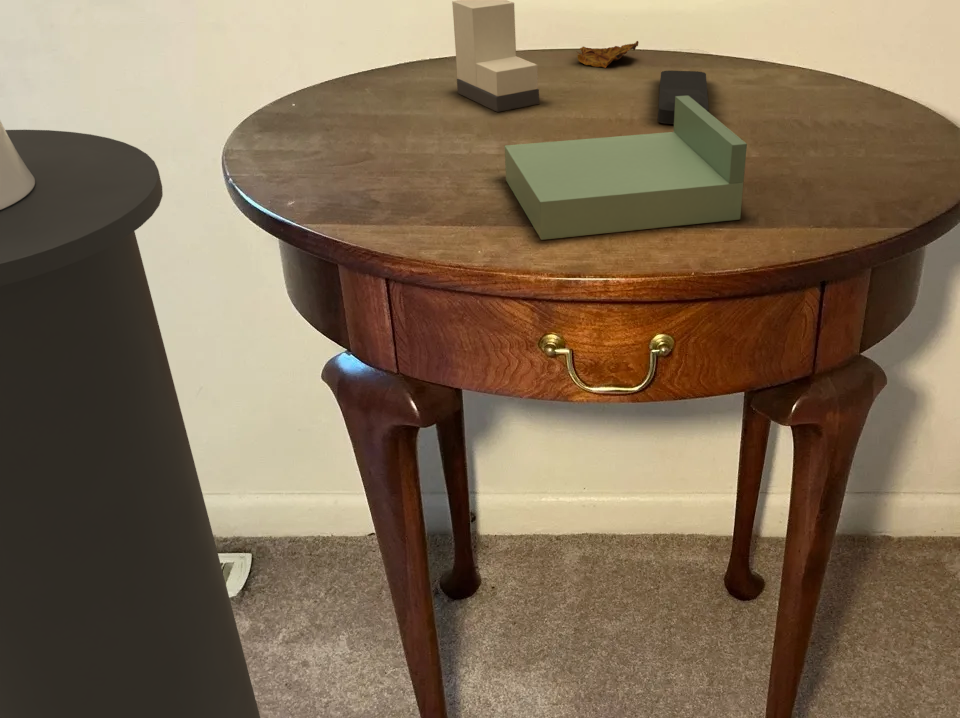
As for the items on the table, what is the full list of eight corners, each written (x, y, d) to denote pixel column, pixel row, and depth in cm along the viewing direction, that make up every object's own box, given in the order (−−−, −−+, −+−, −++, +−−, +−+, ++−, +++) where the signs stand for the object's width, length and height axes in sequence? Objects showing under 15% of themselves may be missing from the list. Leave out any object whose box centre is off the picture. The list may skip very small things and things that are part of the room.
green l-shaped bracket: (540, 240, 78) (539, 161, 75) (505, 180, 89) (502, 108, 85) (740, 219, 82) (747, 143, 79) (684, 164, 92) (688, 95, 89)
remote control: (659, 86, 114) (657, 123, 101) (660, 69, 113) (658, 105, 101) (705, 88, 114) (708, 125, 101) (706, 71, 113) (709, 106, 100)
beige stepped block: (457, 93, 110) (451, 1, 104) (498, 85, 112) (494, -5, 107) (497, 112, 104) (492, 16, 99) (539, 104, 107) (537, 9, 102)
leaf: (592, 51, 125) (590, 37, 124) (645, 51, 122) (644, 36, 121) (569, 70, 120) (567, 55, 119) (623, 70, 118) (622, 55, 117)
